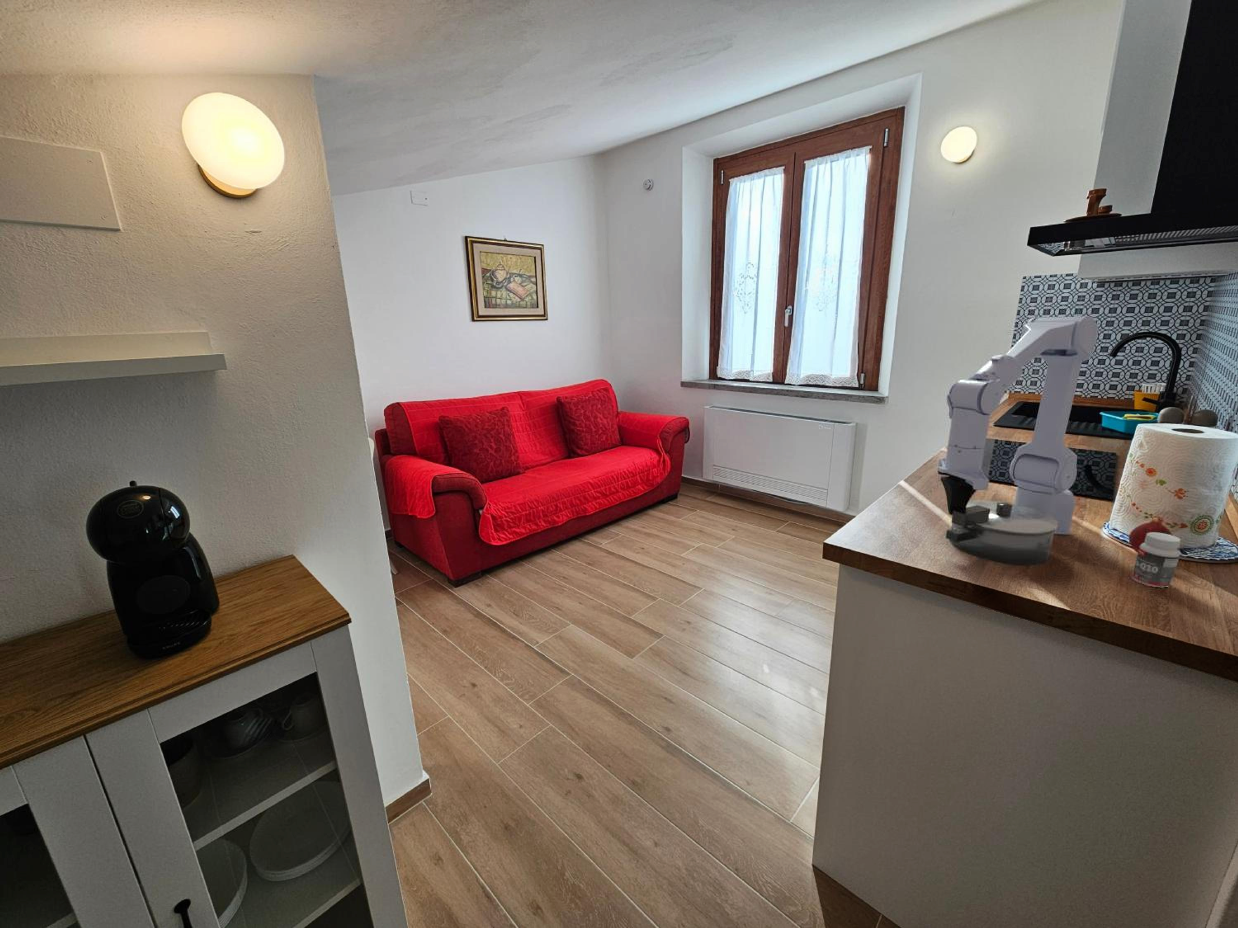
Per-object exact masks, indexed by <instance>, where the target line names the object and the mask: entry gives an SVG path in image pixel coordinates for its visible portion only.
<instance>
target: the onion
mask: <svg viewBox="0 0 1238 928" xmlns="http://www.w3.org/2000/svg"><path fill="white" fill-rule="evenodd" d="M1150 532H1156V533H1164V534H1169V535H1172V536H1174V535H1173V533H1172V531H1171V530H1170V529H1168V527H1166V526H1165V525H1163V524H1162V523H1161V521H1160V519H1159V518H1157V517H1154V518H1152V519H1151V521H1150V522H1149V521H1148V522H1146V523H1143V524H1139V525H1138V526H1136V527H1135V528H1134V529H1132V530H1131V531H1130V533H1129V535H1128V542H1129V544H1130V546H1131V549H1133V551H1134V552H1136V553H1137V554H1138V551H1139V547H1140V545H1141V544H1142V543H1145V538H1146V535H1147V533H1150Z"/></svg>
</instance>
